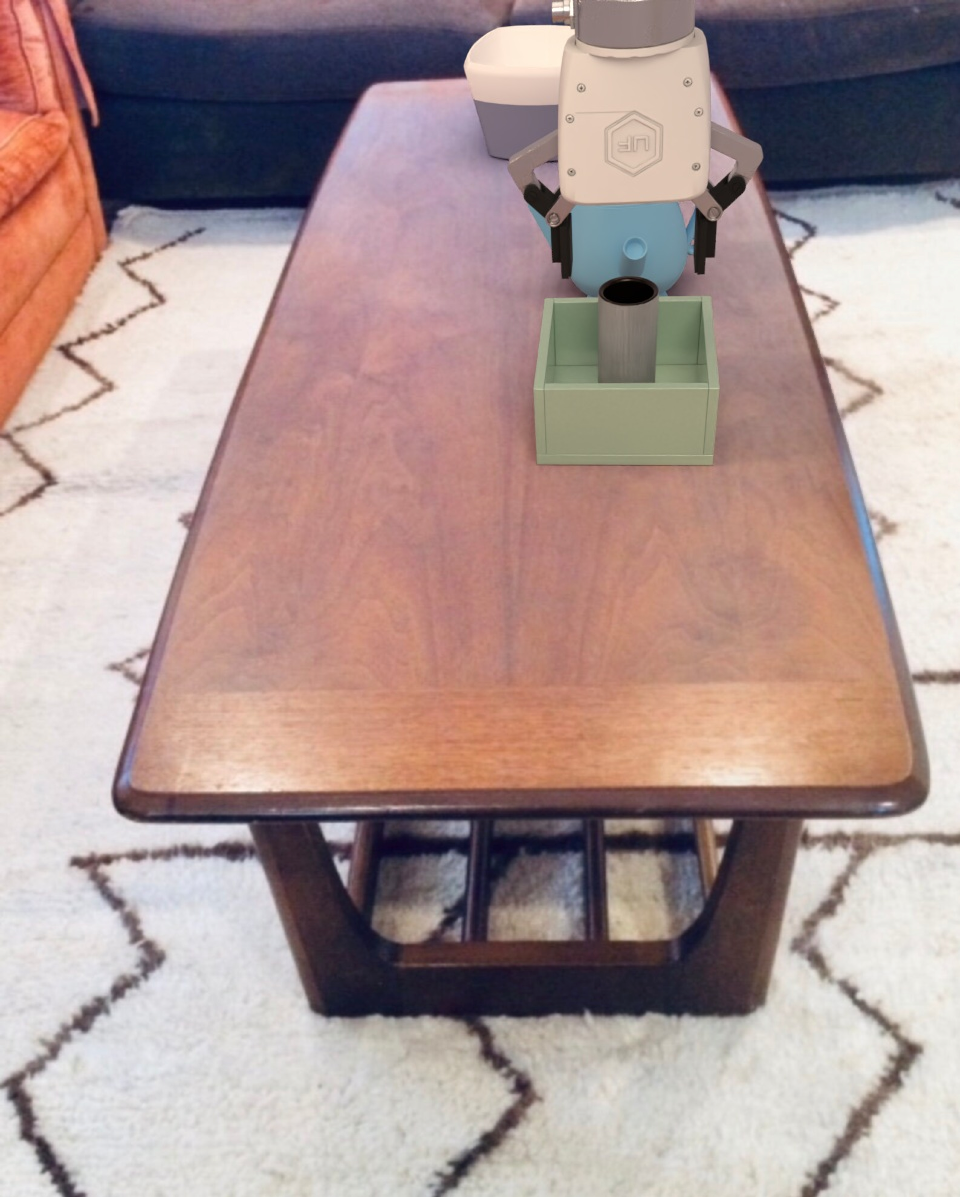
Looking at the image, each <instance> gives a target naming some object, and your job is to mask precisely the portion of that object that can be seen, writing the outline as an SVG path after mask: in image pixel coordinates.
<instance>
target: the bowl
mask: <svg viewBox="0 0 960 1197" xmlns="http://www.w3.org/2000/svg"><path fill="white" fill-rule="evenodd" d="M574 34H575V29H571V27H570V25H556V24H554V25H553V24H535V25H533V24H530V25H529V24H528V25H511V26H509V25H508V26H501V27H500V26H499V27H497V28H494V29H493V30H491V31H488V32H487V33H485V34H484V35H483V36H481V37H480V38H479V39H478V40H476V41H475V42H474V43H473V44H472V46H471V48H470V49H469V51H468V53H467V54H466V57H465V60H464V63H463V70H464V74H465V77H466V79H467V84H468V87H469V90H470V95H471V98H472V101H473V103H474V108H475V110H476V114H477V117H478V121H479V124H480V128H481V131H482V134H483V135H482V136H483V138H484V141H485V145H486V148H487V152H488V154H489V155H490V156H491V157H494V158H497V159H503V160H509V159H510V157H511V156H512V155H514V154H516V153H517V152H519V151H521V150H522V149H524V148H526V147H528V146H529V145H531V144H533V143H534V142H536V141H538V140H539V139H541V138H543V137H544V136H546V135H548V134H550V133H551V132H553V131H555V130H556V129H558V100H559V83H560V72H561V64H562V57H563V51H564V46H565V44H566V42H567V40H568V39H569V38H570V37H571V36H572V35H574ZM547 162H558V155H557V156H555V157H554V158H552V159H550V160H548V161H547Z"/></svg>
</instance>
